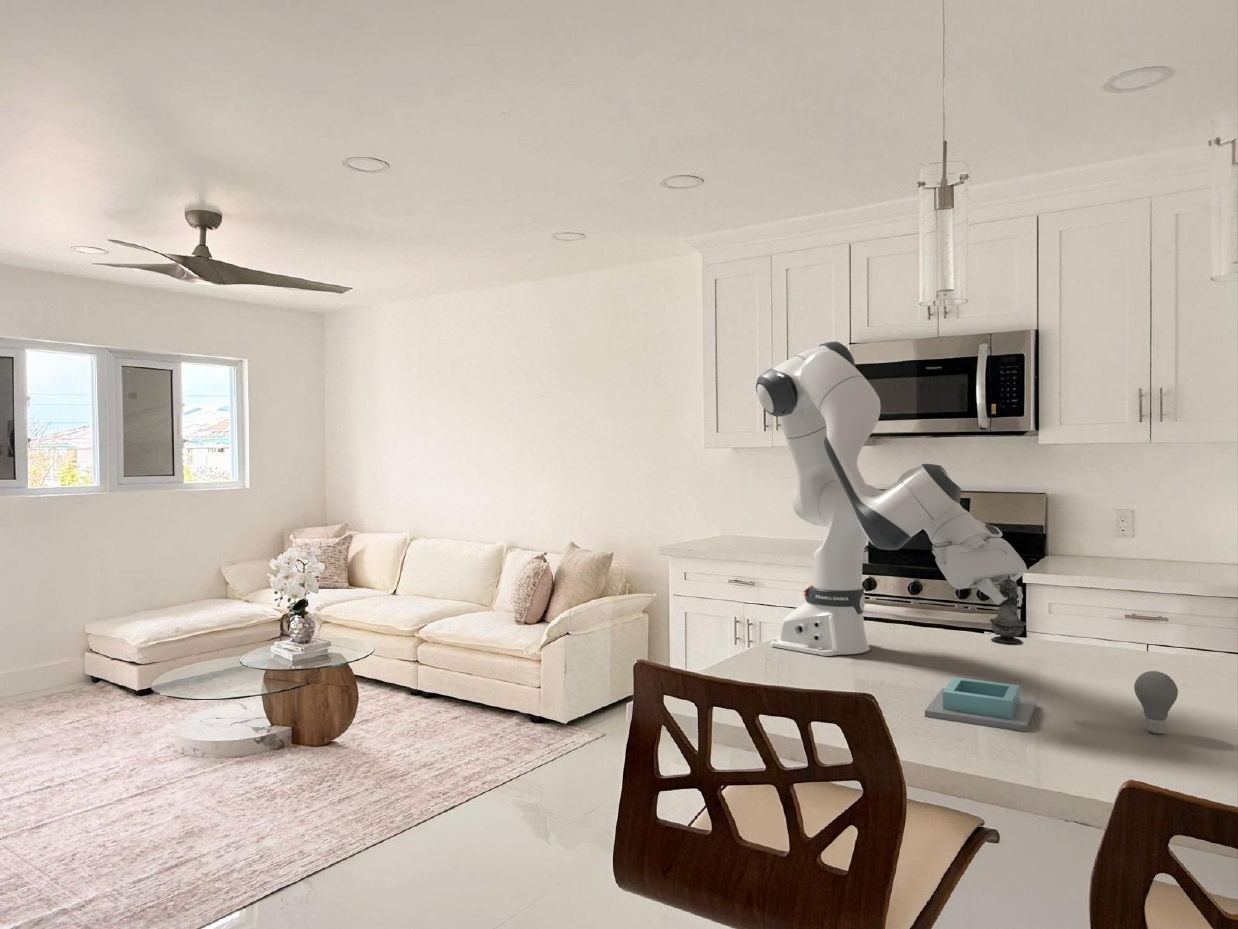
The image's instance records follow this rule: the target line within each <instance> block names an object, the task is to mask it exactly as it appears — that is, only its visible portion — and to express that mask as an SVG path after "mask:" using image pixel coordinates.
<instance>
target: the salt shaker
mask: <svg viewBox="0 0 1238 929" xmlns="http://www.w3.org/2000/svg"><path fill="white" fill-rule="evenodd" d="M1010 578H1011V577H1010V575H1008V576H1007V579H1006V580H1003V581H1002V582H1001V583H999V591H1003V593H1004V594H1005V595H1006V596H1007V598H1008V599H1007V601H1005V602H1004V603H1003V604H998V612H997V615H996V617H994V618H990V619H989V622H990V623H991V628H992V631H993V633H995V634H996V635H998V636H994V637H991V638H990V641H991V642H992V643H995V644H999V645H1004V646H1023V645H1024V641H1023V640H1021V639H1020V638H1018V637H1019V636H1020V635H1021V634H1023V632H1024V630H1025V629H1024V628H1025V626H1026V624H1027V623H1026V622H1025V621H1023V620H1021V619H1020V618H1019V616H1018V603H1020V600H1019V601H1018V600H1017V587H1018V584H1017V581H1016V582H1014V581H1012V580H1011V579H1010Z"/></svg>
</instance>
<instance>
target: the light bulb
mask: <svg viewBox="0 0 1238 929" xmlns="http://www.w3.org/2000/svg"><path fill="white" fill-rule="evenodd" d="M1133 687H1134V694H1135V696H1136V698H1137V699H1138V701H1139V702H1140V704H1141V706H1142V708H1143V714H1144V716H1145V719H1146V720H1145V721H1146V730H1147V731H1149V732H1151V734H1157V735H1160V734H1162V733H1165V732H1166V730H1165V729H1166V727H1165V726H1166V725H1165V724H1166V719H1167V718H1168V715H1169V711H1170V709H1171V708H1172V706H1174V705H1175V702H1176V701H1177V699H1178V695H1179V689H1178V687H1177V684H1176V683H1175V681H1174V679H1173V678H1171V677H1170V676H1169V675H1168V674H1166V673H1164V672H1162V671H1158V670H1149V671H1145V672H1143V673H1141V674H1139V676H1138V677H1137V678H1136V680H1135V682H1134V686H1133Z"/></svg>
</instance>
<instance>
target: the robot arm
mask: <svg viewBox="0 0 1238 929" xmlns="http://www.w3.org/2000/svg"><path fill="white" fill-rule="evenodd" d="M755 392H756V396H757V398H758V400H759V404H760V405H761V406H762V408H763V409H764V410H765V411H766V413H767V414H769V415H771V416H774V417H776V418H779V421H780V425H781V429H782V432H783V435H784V437H785V439H786V442H787V445H788V447H789V449H790V452H791V456H792V458H793V461H794V465H795V468H796V472H797V488H796V489H795V491H794V494H793V497H792V507H793V510H794V512H795V514H796V516H797V517H799V519H801V520H803V521H805V522H807V523H809V524H812V525H815V526H821V527H826V533H825V536H824V539H823V542H822V544H821V545H820V546H819V547H818V548H816V549H815V551H814V552H813V555H812V556H813V557H812V584H811V585H809V586H808V587H807V588H806V589H805V590H804V591H803V596H804V599H805V601H804V602H803V603H801V604H800V605H798V606H797V607H796V608H795V609H793V610H792V611H790V613H788V614H786V615H785V616H784V617H783V619H782V622H781V625H780V630H779V634H777V635H775V636H773V637H772V638H771V639H770V643H769V645H770V646H771V647H773V648H778V649H779V648H780V649H784V650H785V649H786V650H789V651H796V652H802V653H808V654H812V655H817V654H818V655H819V656H825V657H832V656H838V655H842V656H843V655H856V654H857V655H858V654H862V653H866V652H868V651H870V646H869V643H868V638H867V635H866V628H865V620H864V612H865V597H866V596H865V589H864V587H863V563H864V562H863V561H864V560H863V558H864V551H865V547H866V544H867V541H869V542H870V544H871V545H873V546H875V548H877V549H880V550H885V551H897V550H900V548H903V546H904V545H905V544H907V543H908V542H909V541H910V540H911V539H912V538H913V537H914V536H915V535H917V534H918V533H919V532H921V531H922V530H924V531H925V533H926V534H927V535H928V538H929V540H930V542H931V543H932V547H931V549H932V550H931V552H932V554H933V555H934V556H935V559H934V560H935V563H936V565H937V567H938V568H939V570H940V571H941V573H942V574H943V576H944V578H945V580H946V581H947V582H948V583H949V584H950V585H951V587H952V588H955V589H956V590H964V589H970V588H977V589H978V590H979V591H980V592H982V593H983V594H984V595H985V596H987V597H989V598H990V599H991V600H992V601H993V602H994V603H995V605H998V606H999V604H1003V603H1004V602H1005V601H1007V599H1008V598H1007V596H1006V595H1005V594H1004V593H1003V591H1000V589H998V588H997V587H995V586H994V585H997V584H1000V583H1001V582H1002V581H1003V580H1006V579H1007V576H1008V575H1010V577H1011V578H1010V579H1011V580H1012V581H1014V582H1016V583H1017V581H1018V579H1020V578H1021V577H1022V576H1024V574H1025V573H1027V571H1028V568H1027V565H1026V563H1025V562H1024V560H1023V558H1021V556H1020V555H1019V553H1018V552H1017V551H1016V550H1015V548H1013V546H1012V545H1011V544H1010V543H1009V542H1008V541H1007V540H1005V538H1002V536H1003V532H1002V531H1001V530H1000V529H999V527H996V526H993V525H990V524H987V523H985V522H982V521H980V520H978V519H976V518H975V517H974V515H973V514H971V513H970V512H969V511H968V510H966V509H964V508H963V506H962V505H961V504H960V502H961V498H962V497H961V495H962V489H961V487H960V486H959V485H958V484H956V483H955V482H954V481H953V480H952V479H951V477H949V474H948V472H946V470H945V468H944V467H943V466H941V465H940V464H933V463H922V464H920V465H918V466H916V467H913V468H910V469H909V470H907V471H905V472H904V473H903V474H902V475H901V476H900V477H899V478H898V480H897V481H896V482H894V483H893V484H892V485H890V487H888V488H887V489H885V490H884V491H882V492H881V490H879V488H877V487H876V486H873V485H870V484H868V483H866V481H865V480H864V478H863V476H862V474H861V472H860V470H859V467H858V458H859V455H860V453H861V450H862V449H863V447H864V444H865V443H866V442H867V440H868V439H869V437H870V436H871V435H872V433H873V431H874V430H875V428H876V426H877V423H878V421H879V420H880V419H879V418H880V415H881V407H882V406H881V399H880V397H879V395H878V394H877V392H876V390H875V389H874V387H873V386H872V385H871V383H870V382H869V381H868V379H867V378H866V377H865V376H864V375H863V374H862V373H861V372H860V371H859V370H858V368H856V362H855V359H854V357H853V354H852V352H851V351H850V350H849V349H848V347H846V346H845V345H844V344H842V343H841V342H839V341H828V342H824V343H821V344H819V345H818V346H817V347H814V348H810V349H808V350H805V351H802V352H800V353H797V354H795V355H793V357H791V358H789V359H787V360H785V361H783V362H781V363H780V364H778V365H777V366H775V367H773V368H769V369H767V370H766V371H764V372H763V373H762V374H761V375H760V376H759V377H758V378H757V380H756V385H755ZM1023 594H1024V593H1022V592H1021V590H1020V588H1019V587H1018V586H1017V600H1018V601H1019V602H1020V601H1021V600H1022V599H1023V598H1024V595H1023Z"/></svg>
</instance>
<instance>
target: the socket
mask: <svg viewBox="0 0 1238 929" xmlns="http://www.w3.org/2000/svg"><path fill="white" fill-rule="evenodd" d="M1036 708H1037V700H1035V699H1026V698H1020V685H1019V684H1010V683H1002V682H995V681H986V680H981V679H974V678H973V679H970V678H965V677H955V676H954V677H953V678H952V680H951V681H950V682H948V684H947V686H945V687H942V688H941V689H940V691H939V692H937V694H936V696H935V697H934V698H933V700H932V701H931V702H930V703H929V705H928V706H927V707H926V708H925V710H924V717H928V718H933V719H941V720H946V721H952V722H954V721H955V722H959V723H966V724H971V725H972V724H973V725H978V726H980V725H981V726H984V727H985V726H986V727H992V728H999V729H1005V730H1013V731H1020V732H1025V733H1026V732H1028V730H1029V728H1030V724H1031V722H1032V719H1033V716H1034V713H1035V711H1036Z"/></svg>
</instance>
